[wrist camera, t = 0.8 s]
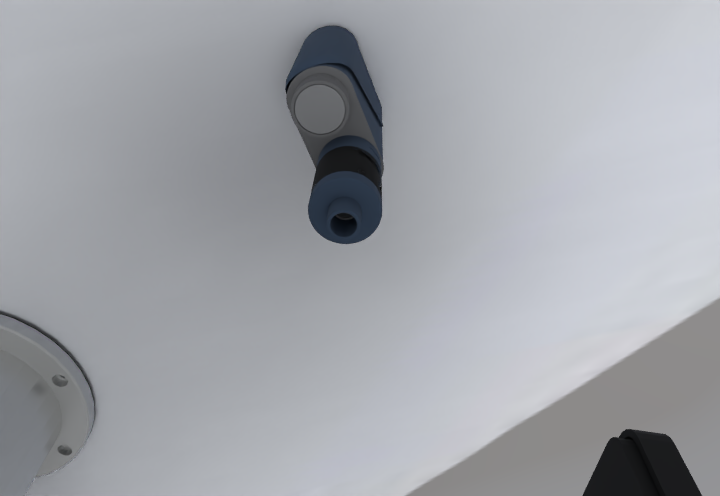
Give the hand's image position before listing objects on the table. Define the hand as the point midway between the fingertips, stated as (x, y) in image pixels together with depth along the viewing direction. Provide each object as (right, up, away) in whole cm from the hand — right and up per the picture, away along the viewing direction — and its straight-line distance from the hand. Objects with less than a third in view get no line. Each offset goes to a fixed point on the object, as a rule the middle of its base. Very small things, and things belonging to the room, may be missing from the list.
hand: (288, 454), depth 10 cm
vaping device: (0, +11, +20) cm, 23 cm away
